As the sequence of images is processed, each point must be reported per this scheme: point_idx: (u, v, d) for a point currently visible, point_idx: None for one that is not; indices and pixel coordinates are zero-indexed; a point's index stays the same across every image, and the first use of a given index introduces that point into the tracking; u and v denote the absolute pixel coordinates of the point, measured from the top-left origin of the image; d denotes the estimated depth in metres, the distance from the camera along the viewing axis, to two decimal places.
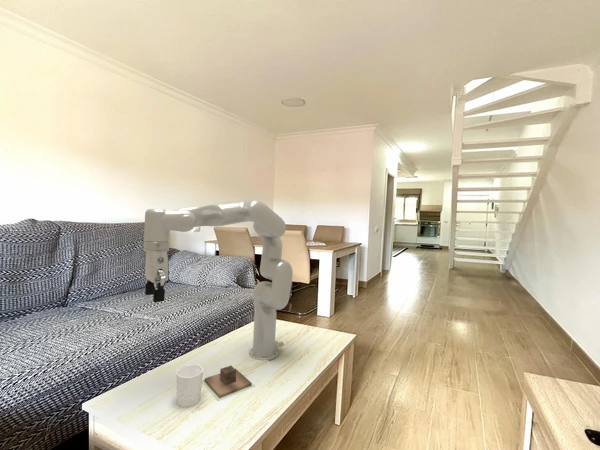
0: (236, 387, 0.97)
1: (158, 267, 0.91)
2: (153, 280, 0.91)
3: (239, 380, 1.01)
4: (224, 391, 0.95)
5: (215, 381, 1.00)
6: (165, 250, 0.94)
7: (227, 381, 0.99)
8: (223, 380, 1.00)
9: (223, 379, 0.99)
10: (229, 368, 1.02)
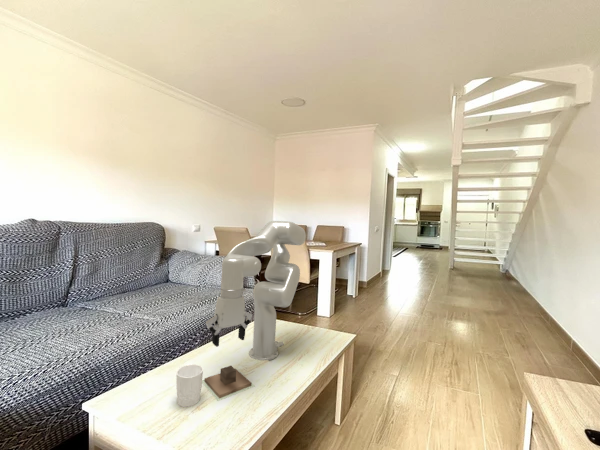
0: (236, 387, 0.97)
1: None
2: (244, 321, 1.02)
3: (239, 380, 1.01)
4: (224, 391, 0.95)
5: (215, 381, 1.00)
6: None
7: (227, 381, 0.99)
8: (223, 380, 1.00)
9: (223, 379, 0.99)
10: (229, 368, 1.02)
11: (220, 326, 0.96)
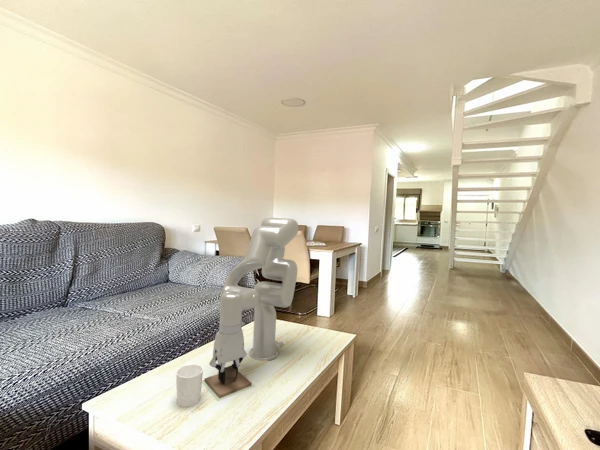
0: (236, 387, 0.97)
1: None
2: (243, 354, 1.03)
3: (239, 380, 1.01)
4: (224, 391, 0.95)
5: (215, 381, 1.00)
6: None
7: (227, 381, 0.99)
8: None
9: None
10: (229, 368, 1.02)
11: (219, 362, 0.97)
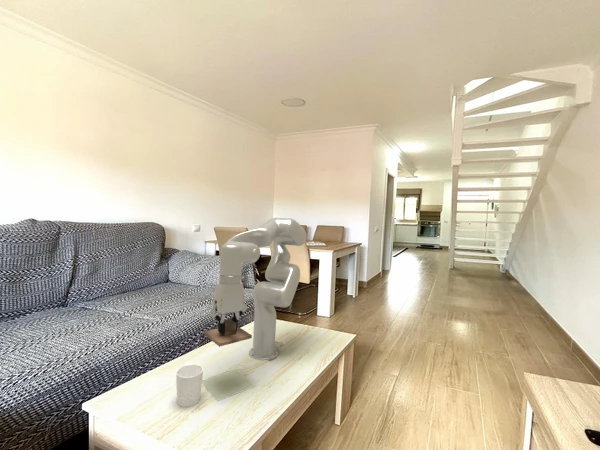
0: (237, 338, 0.96)
1: None
2: (243, 307, 1.02)
3: (239, 333, 1.00)
4: (224, 341, 0.94)
5: (215, 333, 0.99)
6: None
7: (227, 332, 0.98)
8: None
9: None
10: (229, 321, 1.01)
11: (219, 312, 0.96)
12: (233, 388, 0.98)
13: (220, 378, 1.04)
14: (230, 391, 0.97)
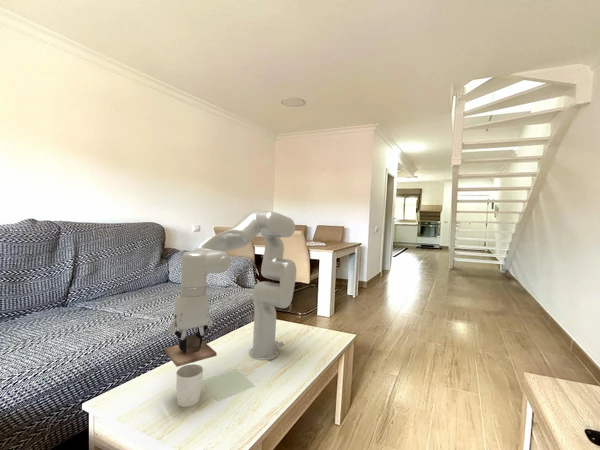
0: (198, 357, 0.87)
1: None
2: (208, 322, 0.92)
3: (203, 350, 0.91)
4: (183, 360, 0.84)
5: (176, 350, 0.90)
6: None
7: (188, 349, 0.88)
8: None
9: None
10: (192, 336, 0.92)
11: (179, 328, 0.86)
12: (233, 388, 0.98)
13: (220, 378, 1.04)
14: (230, 391, 0.97)
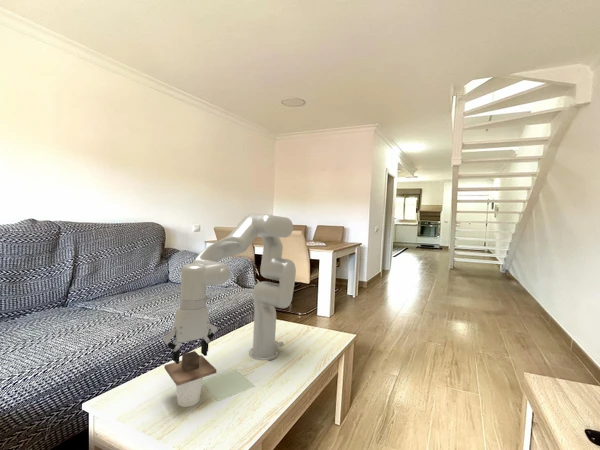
0: (198, 374, 0.87)
1: None
2: (207, 334, 0.93)
3: (203, 367, 0.91)
4: (183, 378, 0.85)
5: (176, 368, 0.90)
6: None
7: (188, 367, 0.89)
8: (184, 367, 0.90)
9: (184, 365, 0.89)
10: (192, 353, 0.92)
11: (178, 341, 0.87)
12: (233, 388, 0.98)
13: (220, 378, 1.04)
14: (230, 391, 0.97)
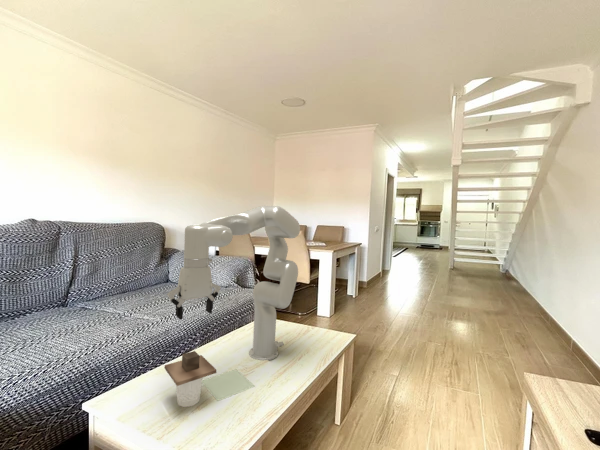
0: (198, 374, 0.87)
1: None
2: (211, 293, 0.96)
3: (203, 367, 0.91)
4: (183, 378, 0.85)
5: (176, 368, 0.90)
6: None
7: (188, 367, 0.89)
8: (184, 367, 0.90)
9: (184, 365, 0.89)
10: (192, 353, 0.92)
11: (183, 298, 0.90)
12: (233, 388, 0.98)
13: (220, 378, 1.04)
14: (230, 391, 0.97)
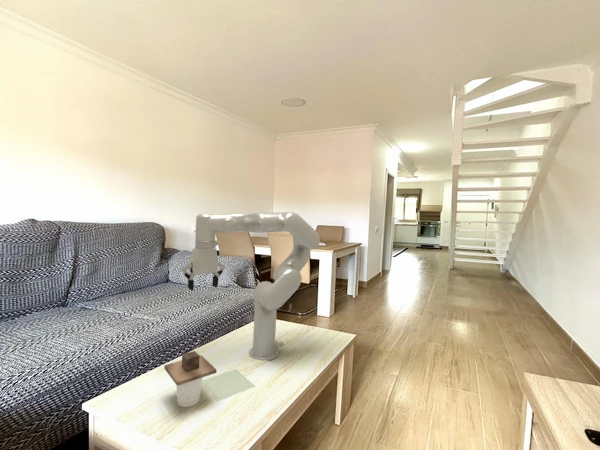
0: (198, 374, 0.87)
1: None
2: (216, 270, 1.16)
3: (203, 367, 0.91)
4: (183, 378, 0.85)
5: (176, 368, 0.90)
6: None
7: (188, 367, 0.89)
8: (184, 367, 0.90)
9: (184, 365, 0.89)
10: (192, 353, 0.92)
11: (194, 272, 1.10)
12: (233, 388, 0.98)
13: (220, 378, 1.04)
14: (230, 391, 0.97)
